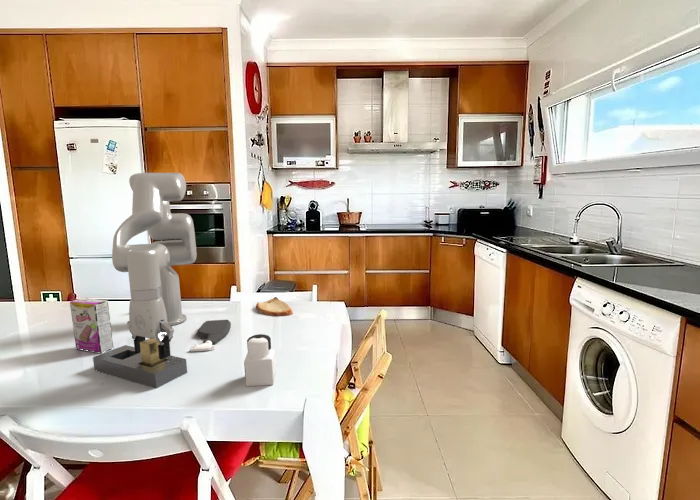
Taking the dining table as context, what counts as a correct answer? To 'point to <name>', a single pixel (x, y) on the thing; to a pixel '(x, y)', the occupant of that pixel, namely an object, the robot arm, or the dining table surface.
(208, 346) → the spray bottle
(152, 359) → the brass peg
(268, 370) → the medicine bottle
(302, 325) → the dining table surface
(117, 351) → the grey peg hole block
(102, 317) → the candy bar box
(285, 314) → the slice of bread
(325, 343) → the dining table surface
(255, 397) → the dining table surface
